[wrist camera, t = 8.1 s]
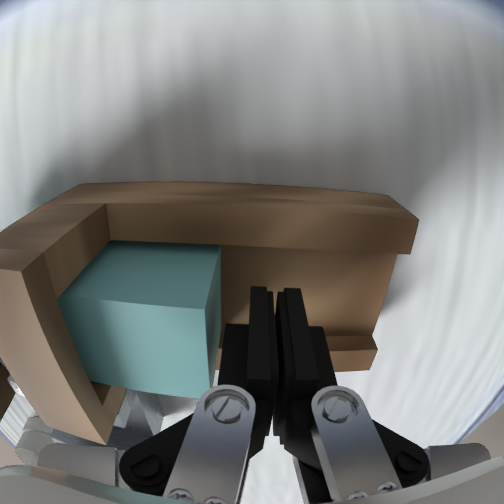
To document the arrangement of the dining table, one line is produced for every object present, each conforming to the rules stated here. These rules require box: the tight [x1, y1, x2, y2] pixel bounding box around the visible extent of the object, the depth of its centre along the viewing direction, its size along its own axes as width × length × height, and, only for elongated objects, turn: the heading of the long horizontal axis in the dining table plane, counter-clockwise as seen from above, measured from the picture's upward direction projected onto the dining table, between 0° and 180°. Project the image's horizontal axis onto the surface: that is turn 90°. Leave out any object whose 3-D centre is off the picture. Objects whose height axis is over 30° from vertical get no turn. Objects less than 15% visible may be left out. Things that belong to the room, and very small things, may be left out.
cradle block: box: [7, 374, 163, 450], centre depth 16 cm, size 8×8×5 cm
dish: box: [15, 417, 55, 466], centre depth 26 cm, size 22×22×5 cm
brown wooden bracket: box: [0, 182, 419, 445], centre depth 10 cm, size 14×8×8 cm, turn 87°
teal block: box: [57, 240, 221, 399], centre depth 10 cm, size 12×4×4 cm, turn 87°
